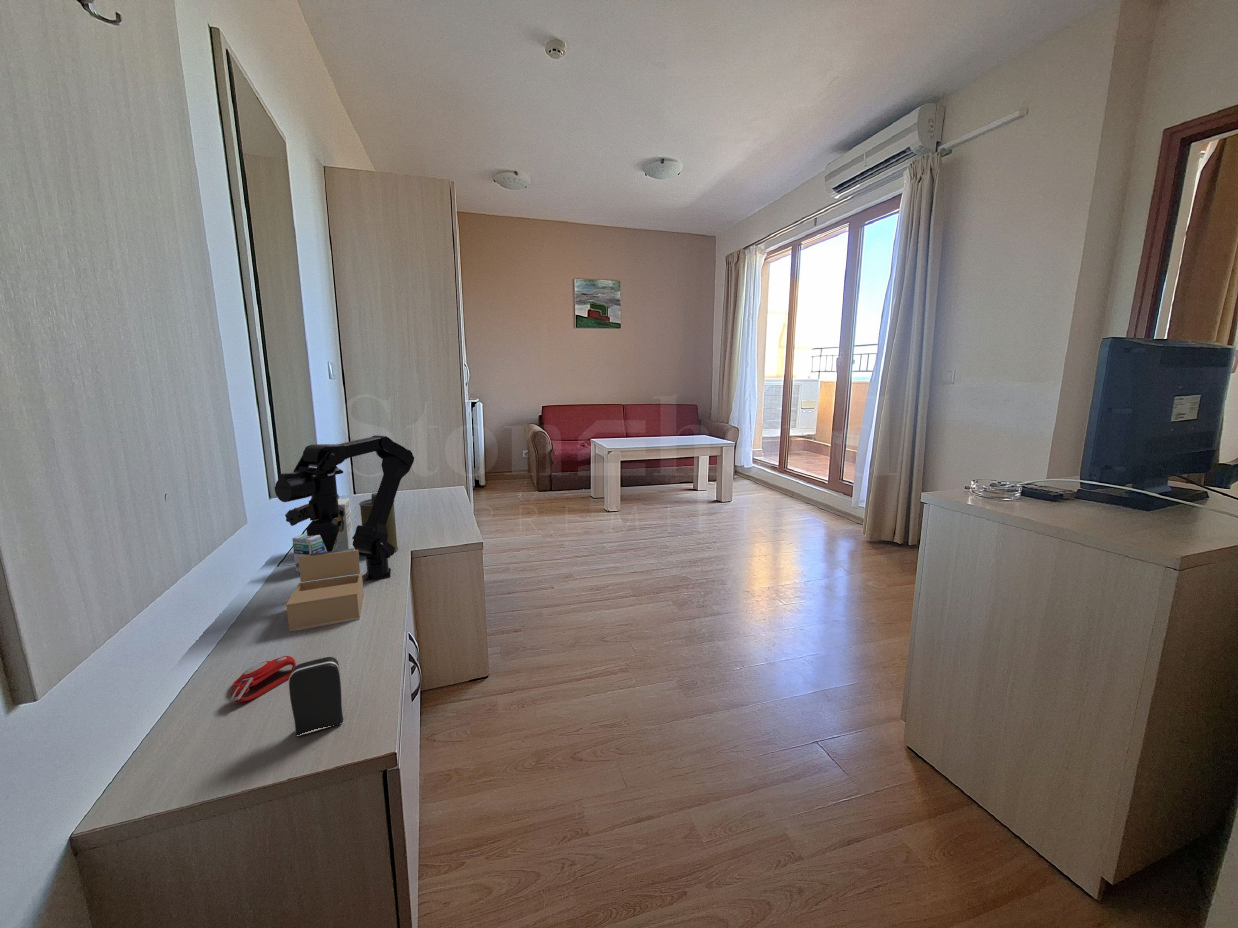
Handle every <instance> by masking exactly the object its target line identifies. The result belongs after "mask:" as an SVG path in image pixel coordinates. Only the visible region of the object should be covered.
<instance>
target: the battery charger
mask: <svg viewBox="0 0 1238 928" xmlns="http://www.w3.org/2000/svg"><path fill="white" fill-rule="evenodd" d="M340 669H341V668H340V664H339V660H337V658H335V657H334V656H327V657H322V658H318V659H314V660H310V661H305V662H302V663H299V664H297V665H296V666H295V667H294V668H293V670H292V672H291V675H290V677H289V679H288V693H289V700H290V706H291V711H292V716H293V721H294V732H295V733H296V734H295V736H296V735H300V734H302V733H305V732H308V731H311V730H314V729H318V728H323V727H328V726H333V725H336V726H338V725H337V724H339V725H341V724H340V723H342V722H343V723H344V721H343V720H344V719H345V718H344V717H345V715H344V711H343V694H342V693H343V691H342V679H341V672H340V671H341V670H340ZM343 723H342V724H343ZM333 727H334V726H333Z"/></svg>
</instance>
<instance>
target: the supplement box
mask: <svg viewBox="0 0 1238 928" xmlns="http://www.w3.org/2000/svg"><path fill="white" fill-rule="evenodd" d="M339 505H340V506H342V507H343V508H344V513H345V515H344V517H341V515H339V517H338V518H335V519H337V521H342V524H341V527H340V530H339V533H338V540H339V550H345V549H352V547H353V540H354V539H352V538H353V536H354V532H353V524H352V523H353V521H352V519H353V518H352V511H351V498H350V497H347V498H339V499H338V506H339Z"/></svg>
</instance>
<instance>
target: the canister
mask: <svg viewBox="0 0 1238 928" xmlns="http://www.w3.org/2000/svg"><path fill="white" fill-rule="evenodd" d="M370 495H371V496H370V497H371V498H367V499H365V500H362V501H360V502H359V504H358V505H359V506H360V507H359V508H360V518H361V526H363V525H364V524H365V523H366V522H367V521H368V518H369V515H370V512H371V510H372V507H373V504H374V501H375V498H376V495H377V492H372V493H371V494H370ZM395 513H396V512H395V499H394V502H393V505H392V508H391V511H390V514H389V517H388V520H387V523H386V528H387V533H388V538H387V542H388V543H389V544H391V545H392V546H393V547H395V551H396V552H397V551H398V550H399V547H398V538H397V536H398V535H397V526H396V525H397V524H396V515H395ZM395 551H394V552H395ZM396 552H395V553H396Z"/></svg>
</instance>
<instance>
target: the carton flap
mask: <svg viewBox="0 0 1238 928" xmlns="http://www.w3.org/2000/svg"><path fill="white" fill-rule="evenodd" d="M298 560H299V570H300V572H299V576H300V577H299V578H300V579H299V580H300V583H304V582H311V581H318V580H325V579H332V578H339V577H346V576H353V575H360V574H361V566H360V556H359V553H358V550H355V549H354V548H351V549H345V550H337V551H331V552H321V553H313V554H310V556H303V557H298Z"/></svg>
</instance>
